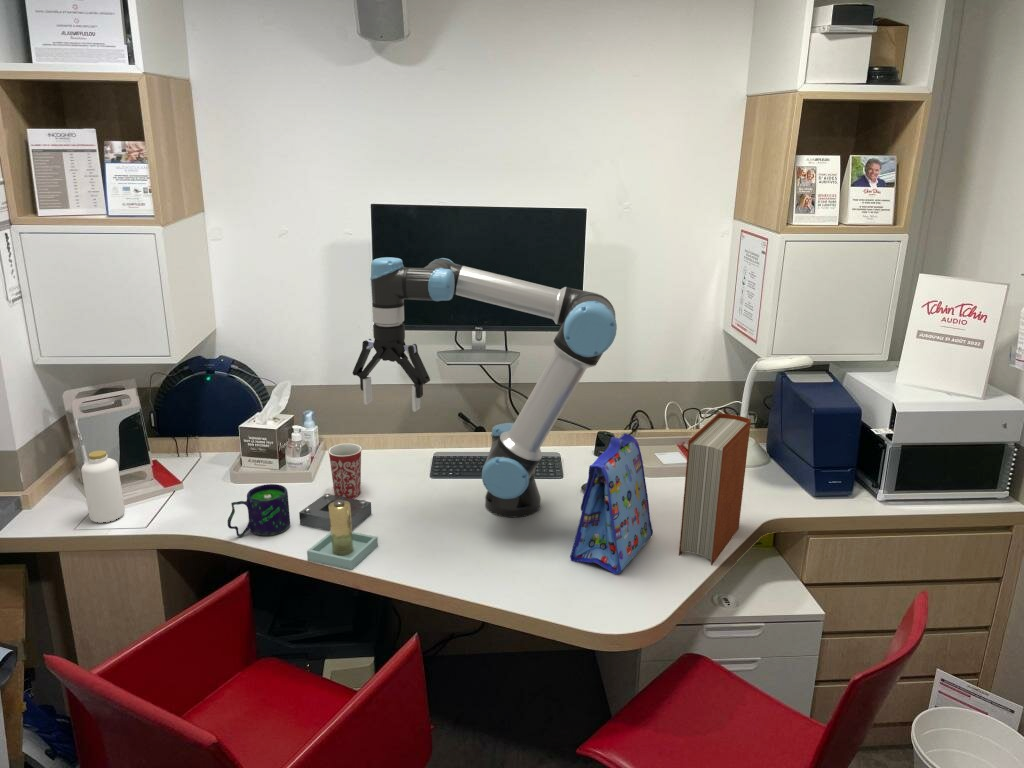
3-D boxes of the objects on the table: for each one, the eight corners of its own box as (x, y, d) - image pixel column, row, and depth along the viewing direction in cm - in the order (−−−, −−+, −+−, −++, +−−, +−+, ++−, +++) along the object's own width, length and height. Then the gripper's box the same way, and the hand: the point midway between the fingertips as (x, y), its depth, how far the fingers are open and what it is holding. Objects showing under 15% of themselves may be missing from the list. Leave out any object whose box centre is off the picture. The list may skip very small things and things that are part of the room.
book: (711, 565, 182) (723, 447, 173) (678, 555, 186) (688, 440, 177) (740, 526, 201) (752, 418, 192) (709, 518, 205) (719, 412, 196)
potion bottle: (132, 513, 204) (122, 450, 198) (104, 527, 197) (94, 462, 191) (110, 507, 207) (100, 445, 202) (82, 520, 200) (71, 456, 194)
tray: (377, 545, 189) (377, 536, 189) (351, 569, 179) (351, 560, 178) (335, 536, 193) (335, 528, 192) (307, 559, 182) (306, 550, 182)
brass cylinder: (357, 546, 187) (353, 499, 183) (346, 557, 183) (342, 508, 179) (339, 543, 189) (335, 496, 185) (328, 553, 184) (324, 505, 180)
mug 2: (359, 501, 212) (356, 456, 208) (326, 500, 213) (323, 454, 209) (370, 482, 224) (368, 439, 220) (340, 480, 225) (337, 437, 221)
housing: (371, 514, 205) (370, 500, 204) (347, 534, 194) (346, 519, 193) (326, 505, 210) (325, 491, 208) (300, 524, 199) (299, 510, 198)
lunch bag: (605, 523, 201) (610, 420, 193) (654, 537, 195) (662, 430, 186) (567, 560, 184) (572, 448, 175) (620, 576, 177) (628, 461, 168)
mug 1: (285, 515, 204) (282, 480, 201) (294, 531, 196) (291, 495, 192) (225, 527, 197) (221, 492, 194) (231, 545, 189) (226, 508, 186)
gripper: (442, 324, 185) (443, 407, 191) (352, 315, 193) (356, 395, 199) (428, 331, 178) (430, 417, 184) (335, 321, 186) (340, 404, 193)
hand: (392, 406), depth 192 cm, fingers open, 13 cm apart
